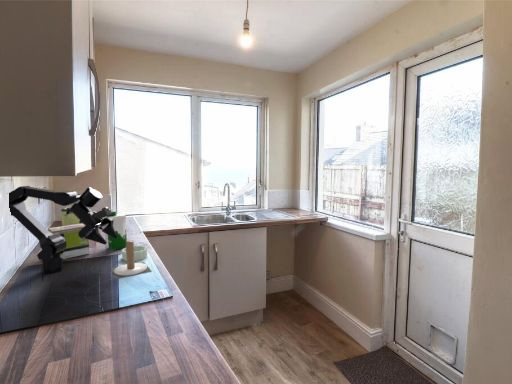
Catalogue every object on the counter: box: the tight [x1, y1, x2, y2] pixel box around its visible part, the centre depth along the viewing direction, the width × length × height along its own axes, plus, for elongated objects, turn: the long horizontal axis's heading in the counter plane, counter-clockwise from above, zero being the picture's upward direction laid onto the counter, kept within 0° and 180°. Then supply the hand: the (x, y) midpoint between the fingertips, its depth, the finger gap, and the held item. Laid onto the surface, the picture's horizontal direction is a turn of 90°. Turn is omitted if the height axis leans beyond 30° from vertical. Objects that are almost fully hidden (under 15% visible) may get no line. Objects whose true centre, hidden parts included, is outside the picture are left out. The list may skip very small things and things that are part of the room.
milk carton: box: [105, 211, 128, 251], centre depth 156 cm, size 9×9×20 cm
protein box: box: [60, 206, 92, 226], centre depth 200 cm, size 10×16×16 cm
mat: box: [110, 261, 153, 280], centre depth 123 cm, size 14×14×1 cm
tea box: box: [48, 224, 91, 260], centre depth 144 cm, size 15×10×15 cm
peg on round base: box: [114, 240, 148, 277], centre depth 122 cm, size 13×13×12 cm
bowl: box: [121, 245, 148, 262], centre depth 140 cm, size 11×11×4 cm
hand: (111, 240), depth 122 cm, fingers open, 9 cm apart
